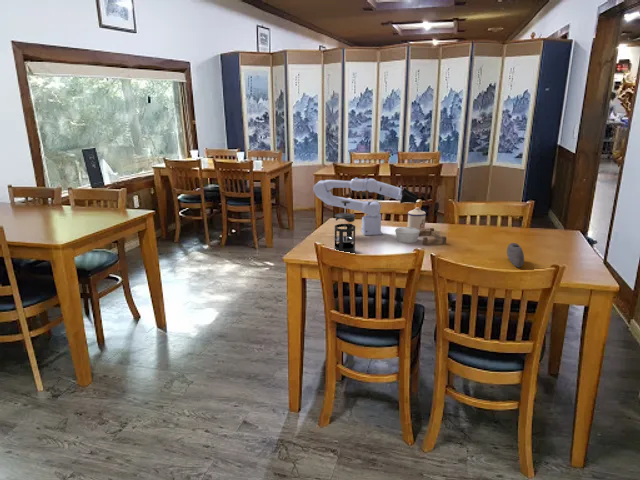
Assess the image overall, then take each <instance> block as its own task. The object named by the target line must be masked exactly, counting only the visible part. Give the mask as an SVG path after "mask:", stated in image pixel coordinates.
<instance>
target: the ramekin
mask: <svg viewBox="0 0 640 480" xmlns="http://www.w3.org/2000/svg"><path fill="white" fill-rule="evenodd" d="M394 232H395V236H396V240H397V241H398V242H399V243H404V244H414V243H416V242H418V240H419V239H418V238H419V233H420V231H419V230H418V229H416V228H411V227H408V226H402V227H396V229H395V230H394Z"/></svg>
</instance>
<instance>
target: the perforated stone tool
mask: <svg viewBox="0 0 640 480" xmlns="http://www.w3.org/2000/svg"><path fill="white" fill-rule="evenodd" d="M506 256H507V257H508V260H509V261H510V263H511V264H512V265H513V266H514V267H516V268H521V267H522V266H523V265H524V264H525V263H524V261H525V255H524V251H523V248H522V247H521V246H520V245H519V244H518V243H517V242H516V243H515V242H511V243H509V244H508V246H507V248H506Z"/></svg>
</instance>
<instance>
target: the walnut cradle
mask: <svg viewBox="0 0 640 480" xmlns="http://www.w3.org/2000/svg"><path fill="white" fill-rule="evenodd" d="M419 236H424V237H422V245H423V246H429V245H430V246H431V245H432V246H433V245H445V244H447V238H448V237H447V236H445V235H444V236H442V235H440V234H439V233H437V232H436V231H435V228H434V227H429V229H426V230H425V229H424V230H421V231H420V233H419ZM419 236H418V237H419ZM425 236H432V237H433V238H428V237H425Z"/></svg>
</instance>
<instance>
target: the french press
mask: <svg viewBox="0 0 640 480" xmlns="http://www.w3.org/2000/svg"><path fill="white" fill-rule="evenodd" d="M340 203H344V206H345V208H344V212H340V213H336V214H334V217H335V221H336V222H337V221H338V220H339V219H343V220H344V221H345V222H346V221H347V222H348V223H339V224H336V225H334V250H335V249H336V250H339V251H344V252H350V253H355V254H356V225H355V224H353V222H355V219H356V216H357V215H356V214H354V213H349V212H346V209H347V208H346V203H350V202H349V201H341V202H340ZM337 232H338V235H337ZM344 233H346V235H344Z"/></svg>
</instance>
